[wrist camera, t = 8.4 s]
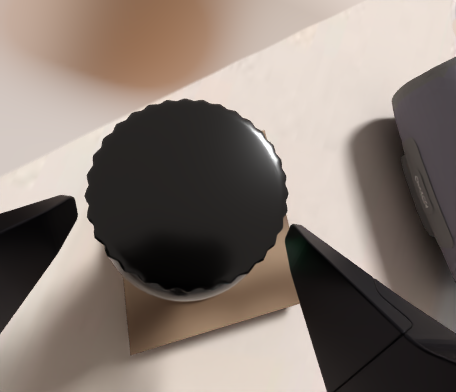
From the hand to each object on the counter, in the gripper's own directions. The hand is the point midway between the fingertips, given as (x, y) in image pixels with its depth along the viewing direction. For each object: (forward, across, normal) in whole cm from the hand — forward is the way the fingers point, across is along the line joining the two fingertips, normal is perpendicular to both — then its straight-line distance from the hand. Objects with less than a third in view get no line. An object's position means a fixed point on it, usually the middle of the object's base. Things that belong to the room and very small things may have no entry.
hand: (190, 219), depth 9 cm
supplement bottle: (+6, 0, +5) cm, 8 cm away
